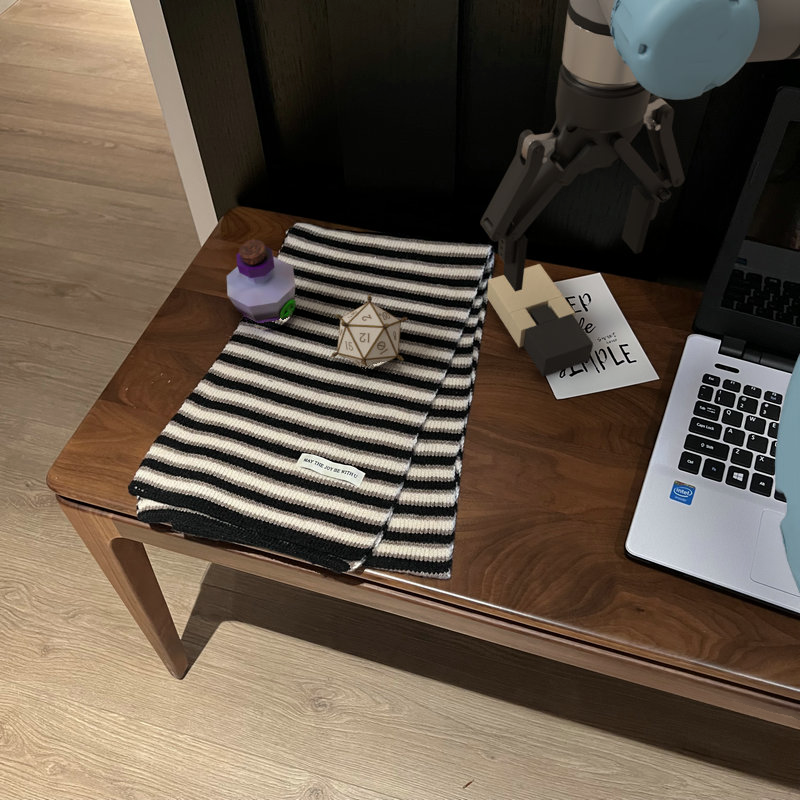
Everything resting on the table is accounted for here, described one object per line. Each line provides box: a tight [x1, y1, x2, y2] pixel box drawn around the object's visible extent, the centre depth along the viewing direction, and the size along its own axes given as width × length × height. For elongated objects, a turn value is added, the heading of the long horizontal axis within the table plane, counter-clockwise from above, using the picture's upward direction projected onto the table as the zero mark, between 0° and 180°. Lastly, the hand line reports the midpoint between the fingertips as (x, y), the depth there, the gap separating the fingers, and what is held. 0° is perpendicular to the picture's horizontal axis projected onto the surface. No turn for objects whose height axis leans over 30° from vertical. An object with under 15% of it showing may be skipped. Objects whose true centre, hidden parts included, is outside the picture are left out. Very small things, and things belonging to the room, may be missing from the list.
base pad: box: [486, 263, 576, 348], centre depth 94 cm, size 9×7×4 cm
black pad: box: [523, 305, 594, 377], centre depth 91 cm, size 8×6×4 cm
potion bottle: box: [226, 238, 297, 323], centre depth 93 cm, size 9×9×12 cm
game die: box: [330, 293, 408, 370], centre depth 90 cm, size 9×8×10 cm
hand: (572, 263), depth 79 cm, fingers open, 13 cm apart
